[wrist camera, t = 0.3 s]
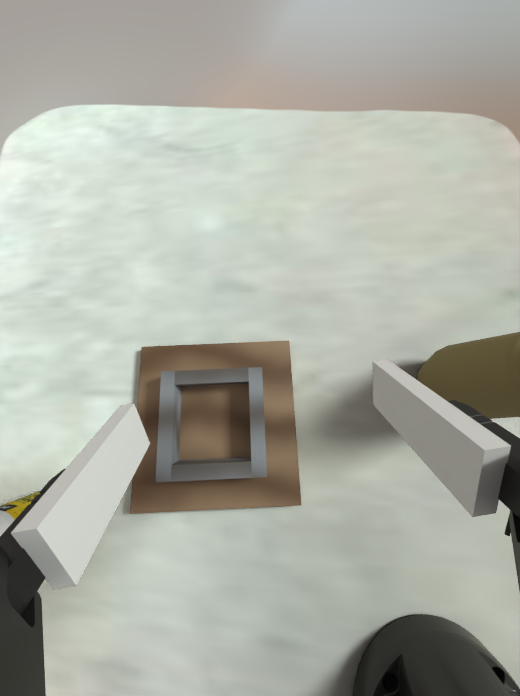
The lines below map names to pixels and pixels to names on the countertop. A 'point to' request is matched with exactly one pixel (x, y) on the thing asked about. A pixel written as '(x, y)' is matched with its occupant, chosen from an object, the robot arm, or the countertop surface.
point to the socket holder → (216, 428)
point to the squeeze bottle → (478, 375)
